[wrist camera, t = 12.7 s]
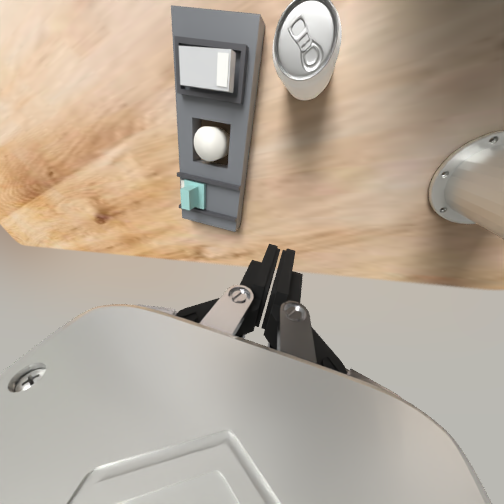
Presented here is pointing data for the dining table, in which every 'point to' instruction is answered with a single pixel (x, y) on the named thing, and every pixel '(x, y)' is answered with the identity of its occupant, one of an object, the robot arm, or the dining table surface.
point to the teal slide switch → (193, 195)
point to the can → (307, 46)
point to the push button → (211, 143)
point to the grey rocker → (207, 68)
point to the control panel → (218, 108)
